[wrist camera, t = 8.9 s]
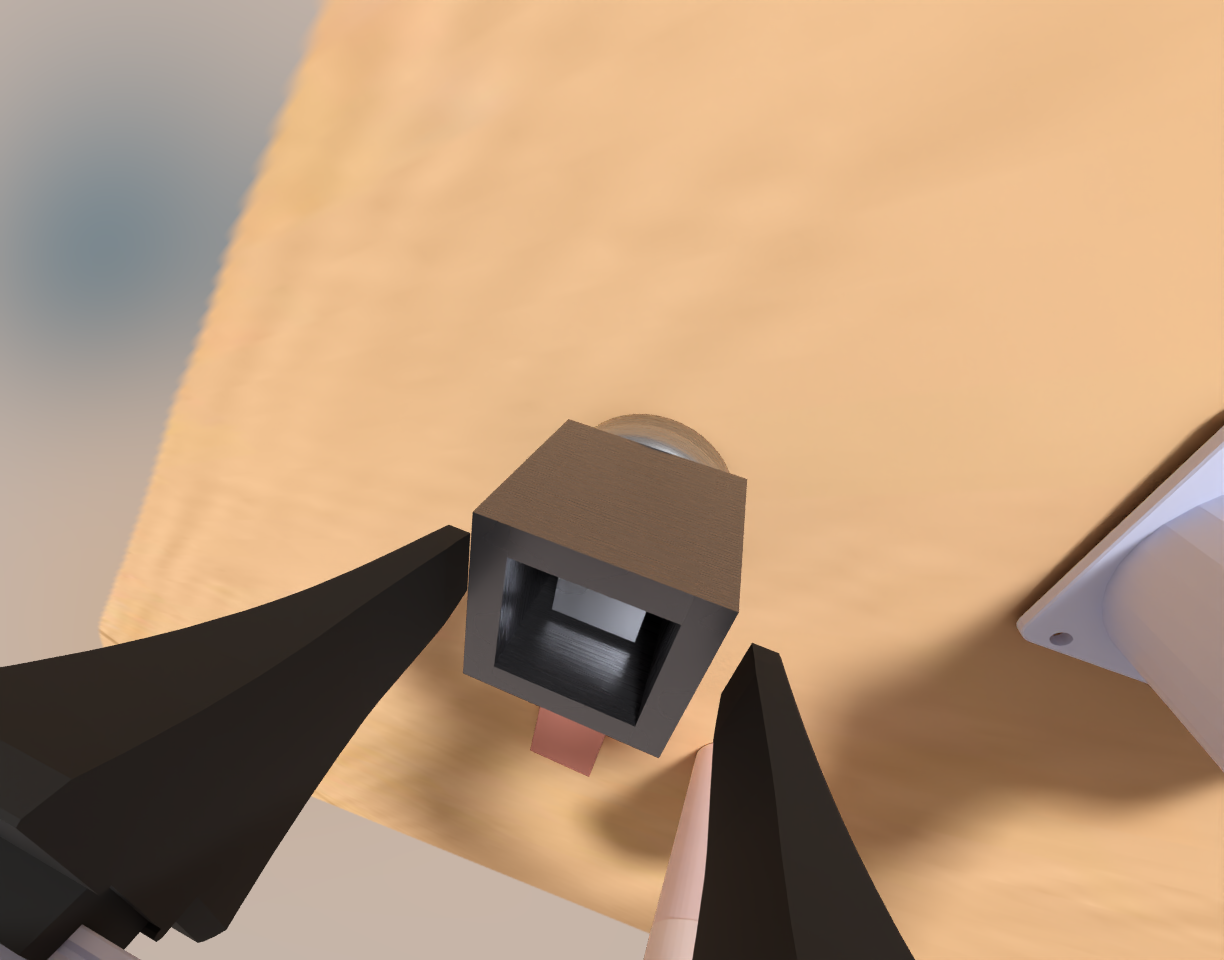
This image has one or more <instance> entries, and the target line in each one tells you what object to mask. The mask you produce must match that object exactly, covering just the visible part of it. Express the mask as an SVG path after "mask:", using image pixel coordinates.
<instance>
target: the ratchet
mask: <svg viewBox="0 0 1224 960" xmlns="http://www.w3.org/2000/svg"><path fill="white" fill-rule="evenodd" d="M594 428H596V429H599V430H602V431H605V432H608V433H611V434H614V435H617V436H620V437H623V438H626V439H629V440H632V441H635V442H638V443H641V444H644V445H647V446H650V447H653V448H656V449H659V450H662V451H665V452H668V453H671V454H674V455H676V456H679V457H682V458H685V459H688V460H691V461H694V462H697V463H700V464H703V465H706V466H709V467H712V468H715V469H718V470H721V471H724V472H727V473H729V471H728V468H727V466H726V464H725V462H724V461H723V459H722V458H721V456H720V454H719V453H718V452H717V451H716V449H715V448H714V447H713V446H712V445H711V444H710V443H709V442H708V441H707V440H706V439H705V438H704V437H703V436H701V435H700V434H698V433H697V432H696V431H694V430H693V429H691V428H689V427H687V426H685V425H684V424H682V423H679V422H677V421H674V420H672V419H668V418H665V417H661V416H656V415H648V414H632V415H625V416H620V417H616V418H613V419H610V420H608V421H605V422H603V423H601V424H599V425H598V426H596V427H594ZM552 609H553V610H555V611H557V612H560V613H562V614H565V615H567V616H570V617H572V618H575V619H577V620H580V621H582V622H585V623H587V624H590V625H592V626H595V627H597V628H600V629H602V630H605V631H607V632H610V633H612V634H615V635H617V636H620V637H622V638H625V639H627V640H630V641H632V642H635V640H636V637H637V635H638V632H639V629H640V627H641V624H642V621H643V619H644V616H645V613H646V611H644V610H641V609H639V608H636V607H634V606H631V605H628V604H626V603H623V602H621V601H618V600H616V599H613V598H610V597H608V596H605V595H603V594H600V593H598V592H595V591H592V590H590V589H587V588H585V587H582V586H580V585H577V584H574V583H572V582H569V581H567V580H564V579H562V578H559V577H558V582H557V587H556V592H555V596H554V601H553V606H552ZM604 737H605V735H604V734H602V733H600V732H597V731H595V730H593V729H590V728H588V727H586V726H583V725H581V724H579V723H577V722H574V721H572V720H570V719H567V718H565V717H563V716H560V715H558V714H556V713H554V712H551V711H549V710H547V709H544V708H542V707H540V710H539V714H538V718H537V723H536V727H535V732H534V736H533V740H532V745H531V749H530V750H531V751H533V752H535V753H537V754H540V755H542V756H544V757H546V758H548V759H551V760H553V761H555V762H557V763H559V764H562V765H564V766H566V767H568V768H571V769H573V770H575V771H577V772H579V773H582V774H584V775H586V776H588V777H589V776H590V773H591V770H592V768H593V765H594V763H595V760H596V758H597V755H598V753H599V750H600V748H601V745H602V743H603V740H604Z"/></svg>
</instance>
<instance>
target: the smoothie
mask: <svg viewBox="0 0 1224 960" xmlns="http://www.w3.org/2000/svg"><path fill="white" fill-rule="evenodd" d="M712 753H713V743H711V744H708V745H705V746H704V747H702V748H701V749H700V750H699V751H698V752H697V755H696V759H695V763H694V766H693V770H692V774H691V778H690V782H689V786H688V790H687V793H686V797H685V801H684V805H683V809H682V813H681V817H680V821H679V824H678V828H677V832H676V836H675V840H674V844H673V848H672V851H671V855H670V859H669V863H668V867H667V871H666V875H665V878H664V882H663V886H662V890H661V894H660V898H659V902H658V906H657V909H656V913H655V917H654V921H653V925H652V928H651V931H650V936H649V939H648V944H647V947H646V952H645V956H644V960H692V958H693V951H694V945H695V939H696V932H697V925H698V918H699V911H700V904H701V897H702V890H703V883H704V876H705V865H706V854H707V839H708V821H709V804H710V786H711V769H712Z"/></svg>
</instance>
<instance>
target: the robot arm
mask: <svg viewBox="0 0 1224 960" xmlns="http://www.w3.org/2000/svg"><path fill="white" fill-rule="evenodd" d="M469 546H470V533H469V532H466V531H463V530H461V529H458V528H456V527H453V526H451V525H447V526H445V527H443V528H441V529H439V530H437V531H435V532H432V533H430V534H428V535H426V536H424V537H422V538H420V539H418V540H416V541H414V542H412V543H410V544H408V545H406V546H403V547H401V548H399V549H397V550H395V551H393V552H391V553H389V554H387V555H385V556H382V557H380V558H378V559H376V560H374V561H372V562H369V563H367V564H365V565H363V566H361V567H359V568H356V569H354V570H352V571H349V572H347V573H345V574H342V575H340V576H337V577H335V578H333V579H330V580H328V581H326V582H323V583H321V584H318V585H316V586H314V587H311V588H308V589H306V590H303V591H301V592H298V593H295V594H292V595H290V596H287V597H284V598H281V599H278V600H275V601H273V602H270V603H267V604H264V605H261V606H258V607H255V608H252V609H249V610H246V611H242V612H239V613H235V614H232V615H229V616H225V617H222V618H218V619H215V620H211V621H208V622H204V623H201V624H198V625H194V626H191V627H187V628H183V629H180V630H176V631H172V632H168V633H164V634H160V635H156V636H152V637H148V638H144V639H139V640H135V641H131V642H126V643H122V644H118V645H113V646H109V647H104V648H100V649H95V650H90V651H85V652H80V653H75V654H69V655H65V656H59V657H54V658H48V659H43V660H38V661H33V662H28V663H22V664H17V665H11V666H5V667H0V960H140V959H138V958H137V957H135V956H133V955H132V954H130V953H128V952H127V951H125V950H124V949H125V948H126V947H127V946H128V945H129V944H130V942H131V941H132V940H133V939H134V938H135V937H136V936H137V934H139V932H141V933H143V934H144V935H146V936H148V937H149V938H151V939H152V940H154V941H156V942H157V941H158V940H160V939H161V938H162V937H163V936H164V935H165V934H166V933H167V931H168V930H169V929H170V928H171V927H172V928H174V929H176V930H177V931H179V932H181V933H182V934H184V935H186V936H187V937H189V938H191V939H192V940H194V941H196V942H197V943H199V942H203V941H205V940H208V939H210V938H212V937H214V936H216V935H218V934H220V933H221V932H223V931H225V930H226V929H227V928H228V926H229V924H230V923H231V921H232V919H233V918H234V916H235V914H236V913H237V911H238V909H239V908H240V906H241V905H242V903H243V901H244V900H245V898H246V897H247V895H248V893H249V892H250V890H251V889H252V887H253V885H254V884H255V882H256V880H257V879H258V877H259V876H260V874H261V872H262V871H263V869H264V867H265V866H266V864H267V863H268V861H269V859H270V858H271V856H272V855H273V853H274V851H275V850H276V848H277V847H278V845H279V844H280V842H281V841H282V839H283V838H284V836H285V835H286V833H287V832H288V830H289V829H290V827H291V825H292V824H293V823H294V821H295V819H296V818H297V816H298V815H299V813H300V812H301V810H302V809H303V807H304V806H305V804H306V803H307V801H308V800H309V798H310V797H311V795H312V794H313V792H314V791H315V789H316V788H317V786H318V785H319V784H320V782H321V781H322V779H323V778H324V776H325V775H326V773H327V772H328V770H329V769H330V768H331V766H332V765H333V763H334V762H335V760H336V759H337V757H338V756H339V755H340V753H341V752H342V750H343V749H344V748H345V746H346V745H347V743H348V742H349V741H350V739H351V738H352V736H353V735H354V734H355V732H356V731H357V729H358V728H359V727H360V725H361V724H362V722H363V721H364V720H365V718H366V717H367V716H368V714H369V713H370V712H371V711H372V709H373V708H374V707H375V706H376V704H377V703H378V702H379V700H380V699H381V698H382V697H383V696H384V695H385V693H386V692H387V691H388V690H389V689H390V688H391V686H392V685H393V684H394V683H395V682H396V681H397V679H398V678H399V677H400V676H401V675H402V674H403V672H404V671H405V670H406V669H407V668H408V667H409V665H410V664H411V663H412V662H413V661H414V660H415V658H416V657H417V656H418V655H419V654H420V653H421V651H422V650H423V649H424V648H425V647H426V646H427V644H428V643H429V642H430V641H431V640H432V638H433V637H434V636H435V635H436V634H437V632H438V631H439V630H440V629H441V628H442V626H443V625H444V624H445V623H446V621H447V620H448V618H449V617H450V615H451V614H452V612H453V611H454V609H455V608H456V606H457V605H458V603H459V602H460V600H461V599H462V597H463V596H464V594H465V592H466V591H467V583H468V565H469ZM1017 629H1018V630H1019V632H1020V633H1021V635H1022V636H1023V638H1024V639H1025V640H1027V641H1029V642H1031V643H1034V644H1037V645H1040V646H1043V647H1045V648H1048V649H1051V650H1054V651H1057V652H1060V653H1062V654H1065V655H1068V656H1071V657H1074V658H1076V659H1079V660H1082V661H1085V662H1088V663H1091V664H1093V665H1096V666H1099V667H1102V668H1105V669H1107V670H1110V671H1113V672H1116V673H1119V674H1122V675H1124V676H1127V677H1130V678H1133V679H1136V680H1139V681H1141V682H1144V683H1147V684H1149V685H1150V686H1151V688H1152V689H1153V690H1154V691H1155V692H1156V693H1157V695H1158V696H1159V697H1160V698H1161V699H1162V700H1163V702H1164V703H1165V704H1166V705H1167V706H1168V708H1169V709H1170V710H1171V711H1172V712H1173V713H1174V715H1175V716H1176V717H1177V718H1178V719H1179V720H1180V722H1181V723H1182V724H1183V725H1184V726H1185V727H1186V729H1187V730H1188V731H1189V732H1190V733H1191V735H1192V736H1193V737H1194V738H1195V739H1196V740H1197V742H1198V743H1199V744H1200V745H1201V746H1202V747H1203V749H1204V750H1205V751H1206V752H1207V753H1208V754H1209V756H1210V757H1211V758H1212V759H1213V760H1214V761H1215V763H1216V764H1217V765H1218V766H1219V767H1220V769H1221V770H1222V771H1223V772H1224V426H1223V427H1222V428H1221V429H1219V430H1218V431H1217V432H1216V433H1215V434H1214V435H1213V436H1212V437H1211V438H1210V439H1209V440H1208V441H1207V442H1206V443H1205V444H1204V445H1203V446H1201V447H1200V448H1199V449H1198V450H1197V451H1196V452H1195V453H1194V454H1193V455H1192V456H1191V457H1190V458H1189V459H1188V460H1187V461H1186V462H1184V463H1183V464H1182V465H1181V466H1180V467H1179V468H1178V469H1177V470H1176V471H1175V472H1174V473H1173V474H1172V475H1171V476H1170V477H1169V478H1168V479H1166V480H1165V481H1164V482H1163V483H1162V484H1161V485H1160V486H1159V487H1158V488H1157V489H1156V490H1155V491H1154V492H1153V493H1152V494H1151V495H1149V496H1148V497H1147V498H1146V499H1145V500H1144V501H1143V502H1142V503H1141V504H1140V505H1139V506H1138V507H1137V508H1136V509H1135V510H1134V511H1133V512H1131V513H1130V514H1129V515H1128V516H1127V517H1126V518H1125V519H1124V520H1123V521H1122V522H1121V523H1120V524H1119V525H1118V526H1117V527H1116V528H1114V529H1113V530H1112V531H1111V532H1110V533H1109V534H1108V535H1107V536H1106V537H1105V538H1104V539H1103V540H1102V541H1101V542H1100V543H1099V544H1098V545H1096V546H1095V547H1094V548H1093V549H1092V550H1091V551H1090V552H1089V553H1088V554H1087V555H1086V556H1085V557H1084V558H1083V559H1082V560H1081V561H1079V562H1078V563H1077V564H1076V565H1075V566H1074V567H1073V568H1072V569H1071V570H1070V571H1069V572H1068V573H1067V574H1066V575H1065V576H1064V577H1063V578H1061V579H1060V580H1059V581H1058V582H1057V583H1056V584H1055V585H1054V586H1053V587H1052V588H1051V589H1050V590H1049V591H1048V592H1047V593H1046V594H1044V595H1043V596H1042V597H1041V598H1040V599H1039V600H1038V601H1037V602H1036V603H1035V604H1034V605H1033V606H1032V607H1031V608H1030V609H1029V610H1028V611H1026V612H1025V613H1024V614H1023V615H1022V616H1021V617H1020V618H1019V620H1018V621H1017ZM1061 632H1063V633H1061ZM1056 633H1061V634H1059V635H1054V634H1056ZM1052 635H1054V636H1052ZM692 960H915V959H914V957H913V955H912V954H911V952H910V950H909V949H908V947H907V945H906V943H905V942H904V940H903V938H902V936H901V935H900V933H899V931H898V929H897V927H896V926H895V924H894V922H893V920H892V918H891V916H890V914H889V912H888V910H887V909H886V907H885V905H884V903H883V901H882V899H881V897H880V895H879V893H878V892H877V890H876V888H875V886H874V884H873V882H872V880H871V878H870V876H869V874H868V872H867V870H866V868H865V866H864V864H863V862H862V860H861V858H860V856H859V854H858V852H857V850H856V848H855V846H854V843H853V841H852V839H851V837H850V835H849V833H848V831H847V828H846V826H845V824H844V822H843V820H842V818H841V815H840V813H839V811H838V808H837V806H836V804H835V802H834V799H833V797H832V795H831V792H830V790H829V788H828V785H827V783H826V781H825V778H824V776H823V773H822V771H821V769H820V766H819V763H818V761H817V758H816V756H815V753H814V751H813V748H812V745H811V743H810V740H809V738H808V735H807V733H806V730H805V727H804V724H803V722H802V719H801V716H800V713H799V710H798V708H797V705H796V702H795V699H794V696H793V693H792V690H791V687H790V684H789V681H788V678H787V675H786V672H785V669H784V666H783V663H782V660H781V657H780V655H779V653H777V652H774V651H772V650H769V649H766V648H764V647H761V646H759V645H756V644H754V643H752V644H751V646H750V647H749V649H748V651H747V652H746V654H745V655H744V657H743V659H742V660H741V662H740V664H739V665H738V667H737V669H736V670H735V672H734V674H733V675H732V677H731V679H730V680H729V682H728V684H727V685H726V687H725V689H724V690H723V692H722V694H721V698H720V703H719V709H718V715H717V720H716V726H715V733H714V739H713V753H712V769H711V786H710V804H709V821H708V839H707V854H706V865H705V876H704V883H703V890H702V897H701V904H700V911H699V918H698V925H697V932H696V939H695V945H694V951H693V958H692Z"/></svg>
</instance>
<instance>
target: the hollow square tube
mask: <svg viewBox="0 0 1224 960" xmlns="http://www.w3.org/2000/svg"><path fill="white" fill-rule="evenodd" d="M746 487H747V479H745V478H742V477H739V476H736V475H733V474H730V473H727V472H724V471H721V470H718V469H715V468H712V467H709V466H706V465H703V464H700V463H697V462H694V461H691V460H688V459H685V458H682V457H679V456H676V455H674V454H671V453H668V452H665V451H662V450H659V449H656V448H653V447H650V446H647V445H644V444H641V443H638V442H635V441H632V440H629V439H626V438H623V437H620V436H617V435H614V434H611V433H608V432H605V431H602V430H599V429H596V428H593V427H590V426H587V425H584V424H581V423H578V422H575V421H572V420H569V419H568V420H567V421H566V422H565V423H564V424H563V425H562V426H561V427H560V428H559V429H558V430H557V431H556V432H555V433H554V434H553V435H552V436H551V437H550V438H549V439H548V440H547V441H546V442H545V443H544V444H543V445H541V446H540V447H539V448H538V449H537V450H536V451H535V452H534V453H533V454H532V455H531V456H530V457H529V458H528V459H527V460H526V461H525V462H524V463H523V464H522V465H521V466H520V467H519V468H518V469H517V470H516V471H515V472H514V473H513V474H511V475H510V476H509V477H508V478H507V479H506V480H505V481H504V482H503V483H502V484H501V485H500V486H499V487H498V488H497V489H496V490H495V491H494V492H493V493H492V494H491V495H490V496H489V497H488V498H487V499H486V500H485V501H484V502H483V503H481V504H480V505H479V506H478V507H477V508H476V509H475V510H474V511H473V517H472V533H471V550H470V567H469V583H468V600H467V617H466V633H465V650H464V667H463V673H464V674H466V675H468V676H471V677H473V678H475V679H477V680H480V681H482V682H484V683H487V684H489V685H491V686H494V687H496V688H498V689H500V690H503V691H505V692H507V693H510V694H512V695H514V696H517V697H519V698H521V699H524V700H526V701H528V702H530V703H533V704H535V705H537V706H540V707H542V708H544V709H547V710H549V711H551V712H554V713H556V714H558V715H560V716H563V717H565V718H567V719H570V720H572V721H574V722H577V723H579V724H581V725H583V726H586V727H588V728H590V729H593V730H595V731H597V732H600V733H602V734H604V735H607V736H609V737H611V738H613V739H616V740H618V741H620V742H623V743H625V744H627V745H630V746H632V747H634V748H636V749H639V750H641V751H643V752H646V753H648V754H650V755H653V756H655V757H657V758H659V757H660V755H661V753H662V751H663V749H664V748H665V746H666V744H667V742H668V740H669V739H670V737H671V735H672V733H673V731H674V729H675V728H676V726H677V724H678V722H679V720H680V718H681V717H682V715H683V713H684V711H685V709H686V708H687V706H688V704H689V702H690V700H691V698H692V697H693V695H694V693H695V691H696V689H697V687H698V686H699V684H700V682H701V680H702V678H703V677H704V675H705V673H706V671H707V669H708V667H709V666H710V664H711V662H712V660H713V658H714V656H715V655H716V653H717V651H718V649H719V647H720V646H721V644H722V642H723V640H724V638H725V636H726V635H727V633H728V631H729V629H730V627H731V625H732V624H733V622H734V620H735V618H736V616H737V615H738V613H739V599H740V583H741V567H742V551H743V535H744V519H745V503H746ZM558 577H559V578H562V579H564V580H567V581H569V582H572V583H574V584H577V585H580V586H582V587H585V588H587V589H590V590H592V591H595V592H598V593H600V594H603V595H605V596H608V597H610V598H613V599H616V600H618V601H621V602H623V603H626V604H628V605H631V606H634V607H636V608H639V609H641V610H644V611H646V613H645V616H644V619H643V621H642V624H641V627H640V629H639V632H638V635H637V637H636V640H635V642H632V641H630V640H627V639H625V638H622V637H620V636H617V635H615V634H612V633H610V632H607V631H605V630H602V629H600V628H597V627H595V626H592V625H590V624H587V623H585V622H582V621H580V620H577V619H575V618H572V617H570V616H567V615H565V614H562V613H560V612H557V611H555V610H553V609H552V606H553V601H554V596H555V592H556V587H557V582H558Z"/></svg>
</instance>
